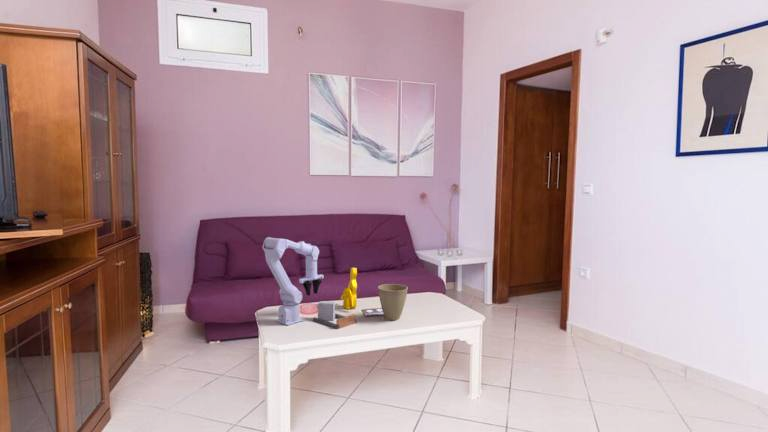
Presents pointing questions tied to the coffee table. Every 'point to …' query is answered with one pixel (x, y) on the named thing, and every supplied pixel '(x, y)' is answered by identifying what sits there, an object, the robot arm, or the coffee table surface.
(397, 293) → the plant pot
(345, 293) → the figure statuette
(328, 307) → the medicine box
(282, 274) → the robot arm
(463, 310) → the coffee table surface
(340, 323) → the grey and brown pieces
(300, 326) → the coffee table surface
